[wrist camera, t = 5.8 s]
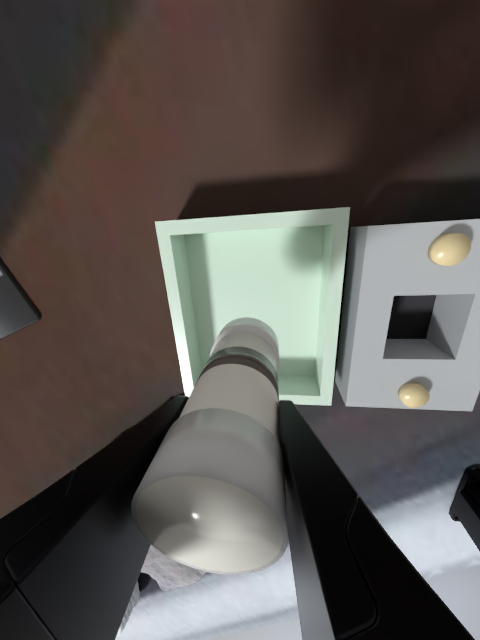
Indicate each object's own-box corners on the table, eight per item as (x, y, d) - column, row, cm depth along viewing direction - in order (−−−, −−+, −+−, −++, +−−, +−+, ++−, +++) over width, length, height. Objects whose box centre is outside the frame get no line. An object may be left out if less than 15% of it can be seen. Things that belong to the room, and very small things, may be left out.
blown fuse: (278, 316, 11) (289, 480, 4) (278, 373, 12) (287, 584, 5) (214, 317, 12) (114, 464, 4) (220, 371, 13) (148, 562, 5)
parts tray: (335, 211, 15) (350, 207, 12) (322, 380, 20) (331, 405, 17) (174, 223, 17) (154, 221, 14) (197, 377, 21) (185, 399, 18)
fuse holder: (489, 218, 14) (557, 213, 11) (441, 383, 18) (479, 417, 15) (350, 227, 15) (372, 225, 12) (335, 381, 19) (348, 412, 16)
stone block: (155, 476, 30) (112, 522, 32) (141, 515, 25) (91, 567, 27) (226, 520, 32) (182, 561, 34) (225, 563, 27) (173, 609, 29)
